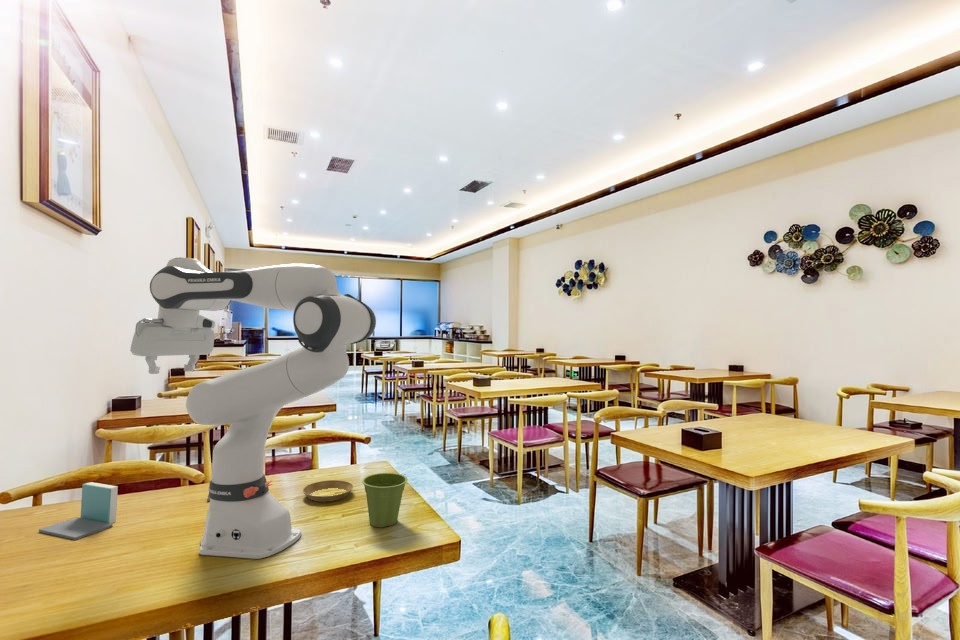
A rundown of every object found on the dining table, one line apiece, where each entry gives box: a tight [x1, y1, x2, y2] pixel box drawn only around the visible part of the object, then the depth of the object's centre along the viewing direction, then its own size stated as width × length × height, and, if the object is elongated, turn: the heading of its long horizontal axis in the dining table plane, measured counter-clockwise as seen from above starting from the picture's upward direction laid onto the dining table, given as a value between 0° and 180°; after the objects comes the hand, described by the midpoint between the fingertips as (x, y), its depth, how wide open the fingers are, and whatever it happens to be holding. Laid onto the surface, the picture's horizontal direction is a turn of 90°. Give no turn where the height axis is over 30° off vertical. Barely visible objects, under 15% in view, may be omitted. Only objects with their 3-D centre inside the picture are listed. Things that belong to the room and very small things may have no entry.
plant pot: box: [361, 472, 408, 528], centre depth 118 cm, size 12×12×11 cm
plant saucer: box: [302, 479, 354, 503], centre depth 137 cm, size 15×15×3 cm
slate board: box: [38, 516, 113, 541], centre depth 110 cm, size 13×8×1 cm, turn 73°
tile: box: [80, 481, 119, 524], centre depth 116 cm, size 10×2×9 cm, turn 73°
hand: (171, 372), depth 116 cm, fingers open, 8 cm apart
